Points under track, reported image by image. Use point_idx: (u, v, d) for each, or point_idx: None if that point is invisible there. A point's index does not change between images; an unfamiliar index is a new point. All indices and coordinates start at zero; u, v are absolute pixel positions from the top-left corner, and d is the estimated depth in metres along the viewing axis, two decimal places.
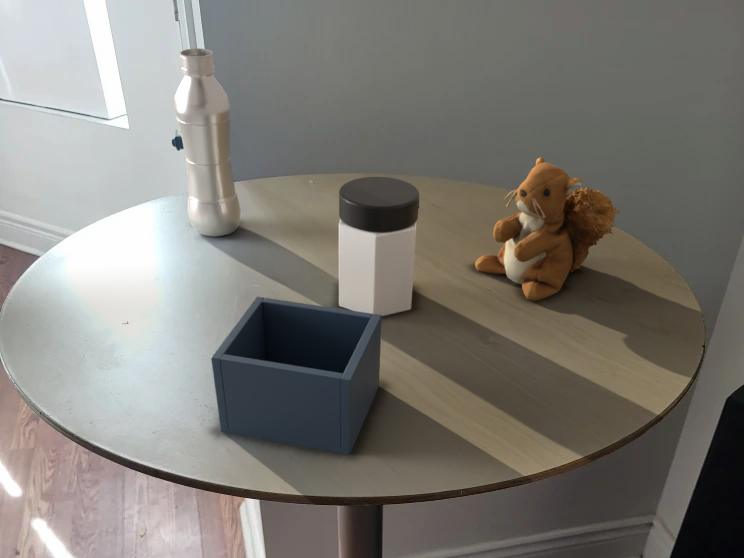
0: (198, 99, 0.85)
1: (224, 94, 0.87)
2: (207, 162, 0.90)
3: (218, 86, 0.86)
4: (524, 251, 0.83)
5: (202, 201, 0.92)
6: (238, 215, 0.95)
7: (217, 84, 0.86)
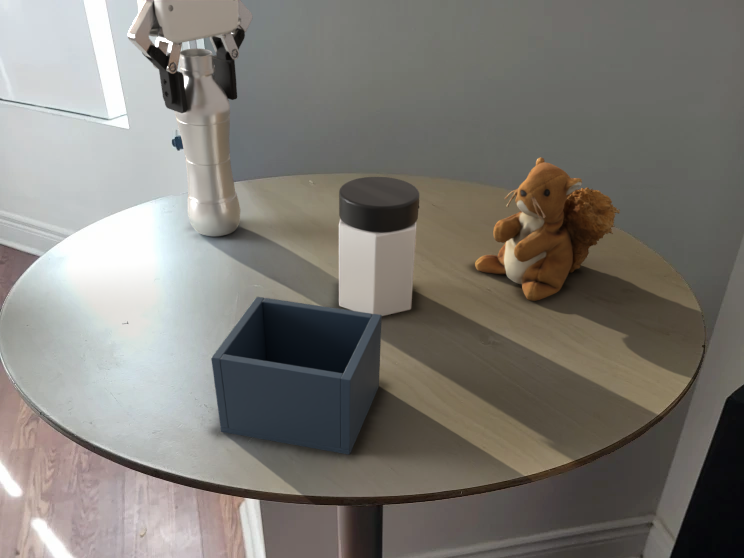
0: (198, 99, 0.85)
1: (223, 94, 0.87)
2: (207, 162, 0.90)
3: (217, 86, 0.86)
4: (524, 251, 0.83)
5: (202, 201, 0.92)
6: (238, 215, 0.95)
7: (216, 84, 0.86)
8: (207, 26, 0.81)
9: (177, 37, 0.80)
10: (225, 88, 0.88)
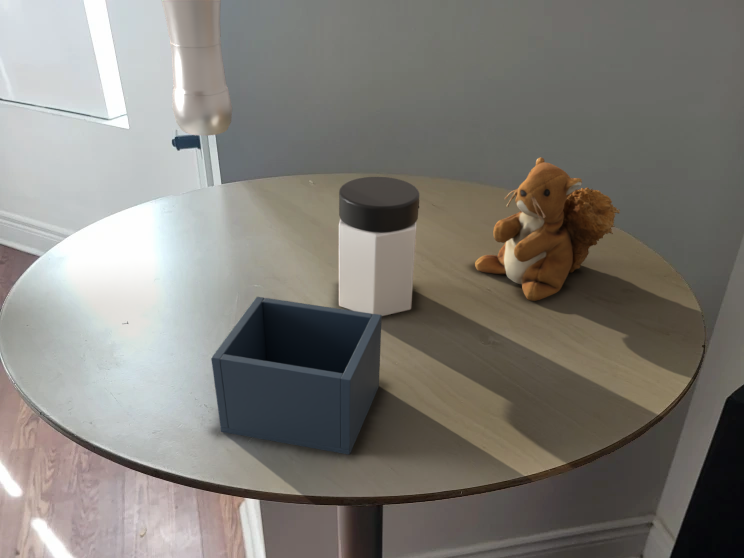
0: None
1: None
2: (195, 44, 0.79)
3: None
4: (524, 251, 0.83)
5: (189, 93, 0.82)
6: (229, 112, 0.85)
7: None
8: None
9: None
10: None
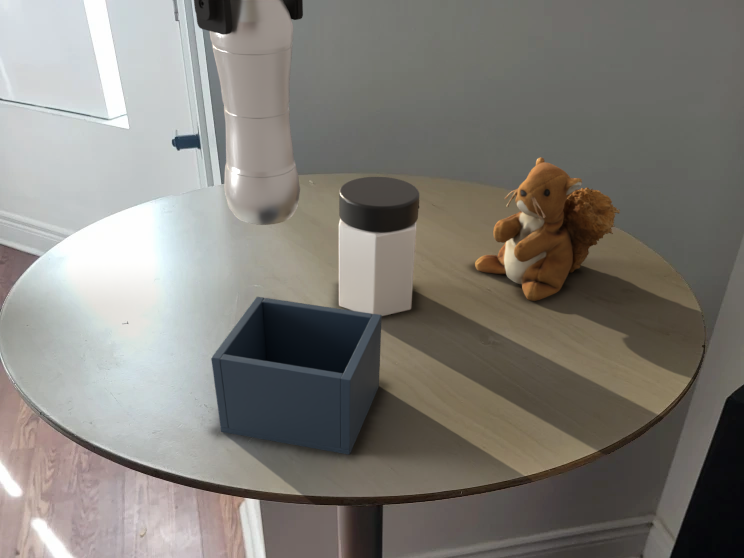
0: (248, 13, 0.56)
1: (285, 8, 0.57)
2: (258, 113, 0.60)
3: None
4: (524, 251, 0.83)
5: (248, 173, 0.63)
6: (298, 194, 0.66)
7: None
8: None
9: None
10: (285, 2, 0.59)
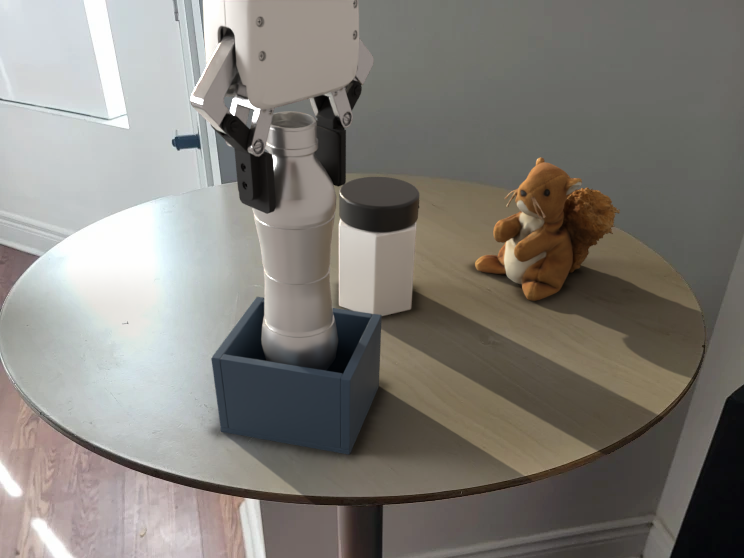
0: (292, 191, 0.54)
1: (329, 181, 0.56)
2: (299, 279, 0.59)
3: (321, 170, 0.55)
4: (524, 251, 0.83)
5: (287, 333, 0.62)
6: (336, 347, 0.65)
7: (320, 167, 0.55)
8: (314, 81, 0.51)
9: (269, 101, 0.49)
10: (328, 169, 0.58)
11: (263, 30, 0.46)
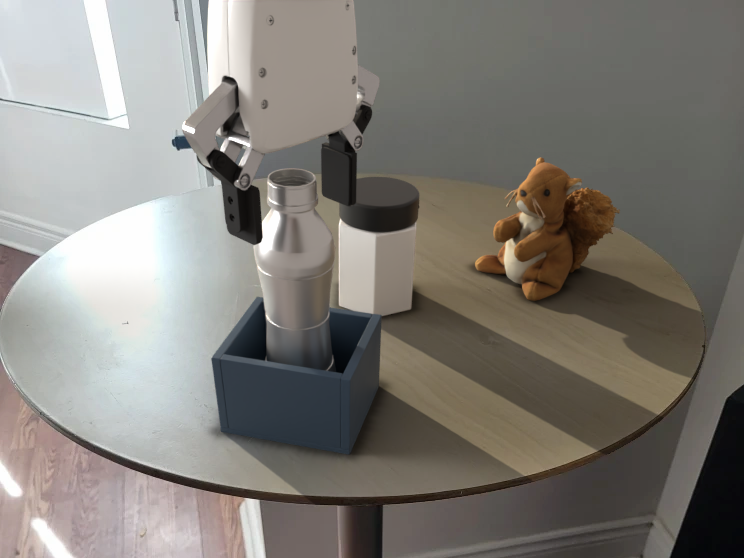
0: (294, 245, 0.57)
1: (328, 233, 0.59)
2: (299, 325, 0.62)
3: (321, 223, 0.58)
4: (524, 251, 0.83)
5: None
6: None
7: (319, 220, 0.58)
8: (314, 125, 0.53)
9: (271, 146, 0.51)
10: (339, 190, 0.60)
11: (265, 80, 0.48)
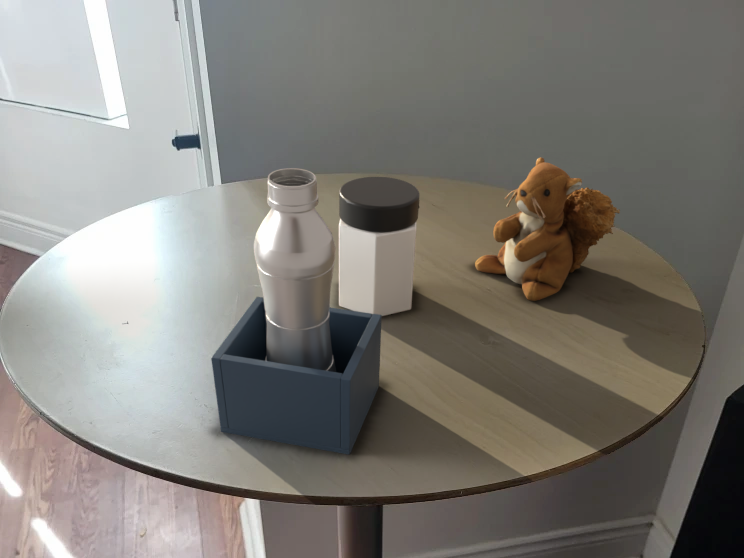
0: (294, 244, 0.57)
1: (329, 233, 0.59)
2: (299, 325, 0.62)
3: (321, 223, 0.58)
4: (524, 251, 0.83)
5: None
6: None
7: (320, 220, 0.58)
8: None
9: None
10: None
11: None
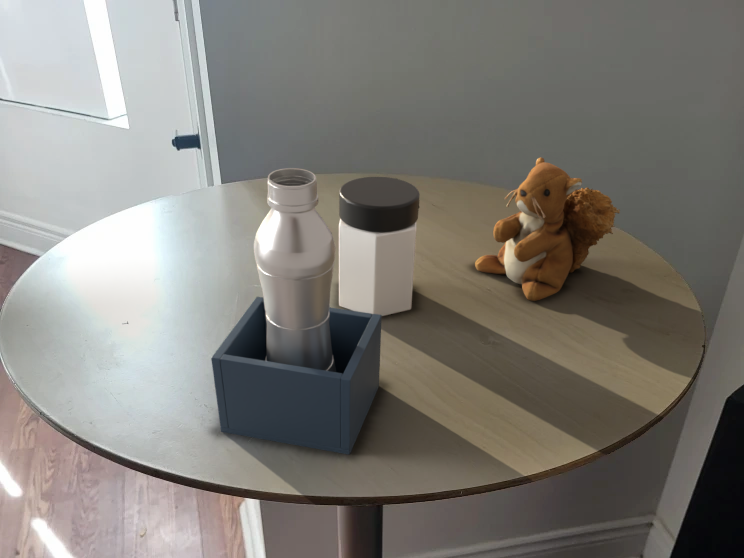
0: (294, 244, 0.57)
1: (329, 233, 0.59)
2: (299, 325, 0.62)
3: (321, 223, 0.58)
4: (524, 251, 0.83)
5: None
6: None
7: (320, 220, 0.58)
8: None
9: None
10: None
11: None
